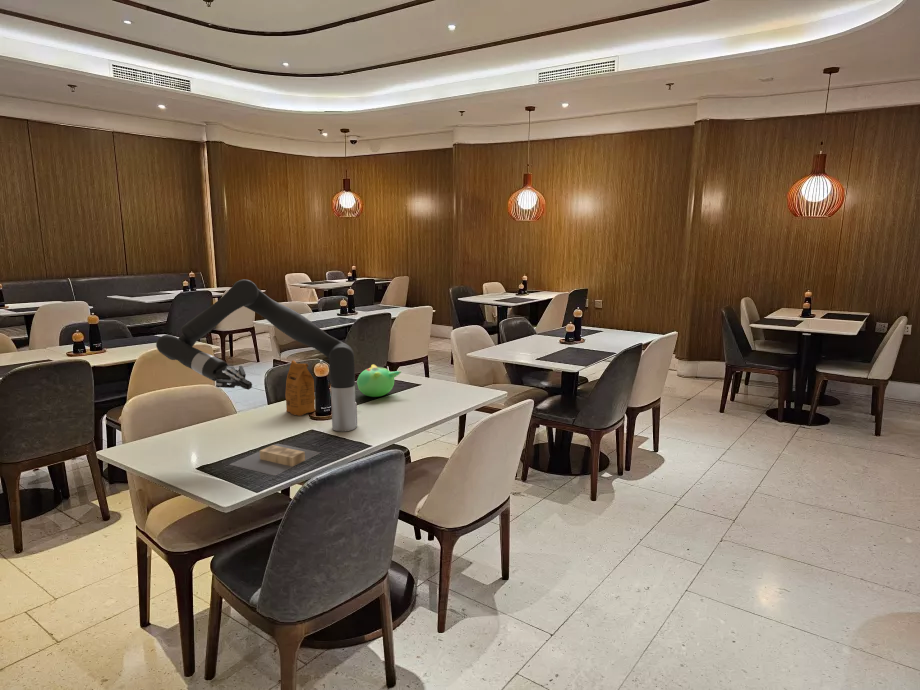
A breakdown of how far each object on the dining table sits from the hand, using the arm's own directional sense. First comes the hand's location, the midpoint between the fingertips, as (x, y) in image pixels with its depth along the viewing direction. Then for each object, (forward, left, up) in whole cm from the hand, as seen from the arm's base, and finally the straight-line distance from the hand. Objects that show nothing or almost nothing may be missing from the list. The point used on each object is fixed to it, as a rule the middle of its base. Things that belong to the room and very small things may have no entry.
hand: (250, 386), depth 195 cm
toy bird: (-81, -4, -24) cm, 84 cm away
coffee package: (-44, -19, -24) cm, 54 cm away
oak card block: (+2, +7, -22) cm, 23 cm away
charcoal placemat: (+2, +11, -24) cm, 26 cm away
